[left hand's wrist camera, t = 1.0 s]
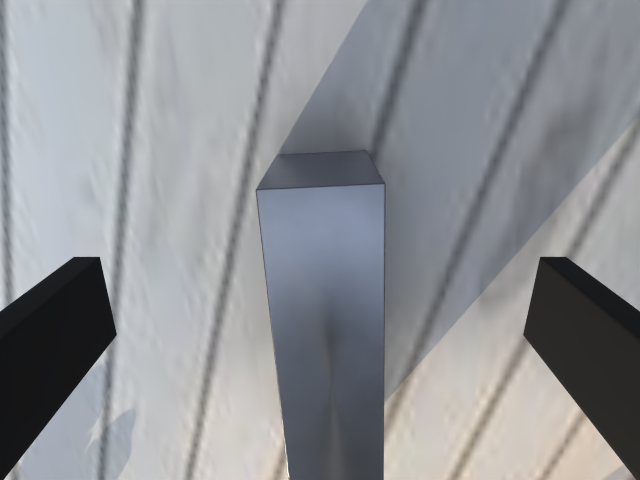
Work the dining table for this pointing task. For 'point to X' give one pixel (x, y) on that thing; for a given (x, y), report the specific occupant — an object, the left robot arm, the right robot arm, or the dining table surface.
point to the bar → (327, 310)
